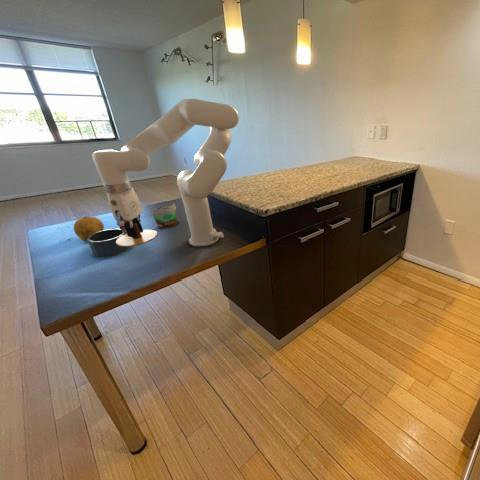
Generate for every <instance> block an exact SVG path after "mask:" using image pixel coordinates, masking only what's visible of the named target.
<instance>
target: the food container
mask: <svg viewBox="0 0 480 480" xmlns="http://www.w3.org/2000/svg"><path fill="white" fill-rule="evenodd" d="M176 210H177V206H176V204H175V203H174V202H172V204H169V205H164V206H161V207H158V208H156V209H152V208H150V215H152V216H153V218H154V221H155V223H156V226H157V228H159V229H167V228H172V227H174V226H176V225H177V224H178V218H177V212H176Z"/></svg>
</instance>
